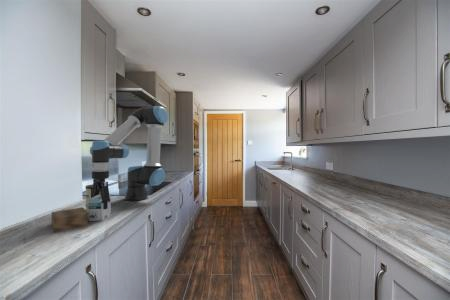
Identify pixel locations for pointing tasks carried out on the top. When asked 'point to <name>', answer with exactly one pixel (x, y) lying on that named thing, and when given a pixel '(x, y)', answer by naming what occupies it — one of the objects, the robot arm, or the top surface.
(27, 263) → the top surface
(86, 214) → the block
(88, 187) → the coffee can
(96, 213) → the light bulb box
